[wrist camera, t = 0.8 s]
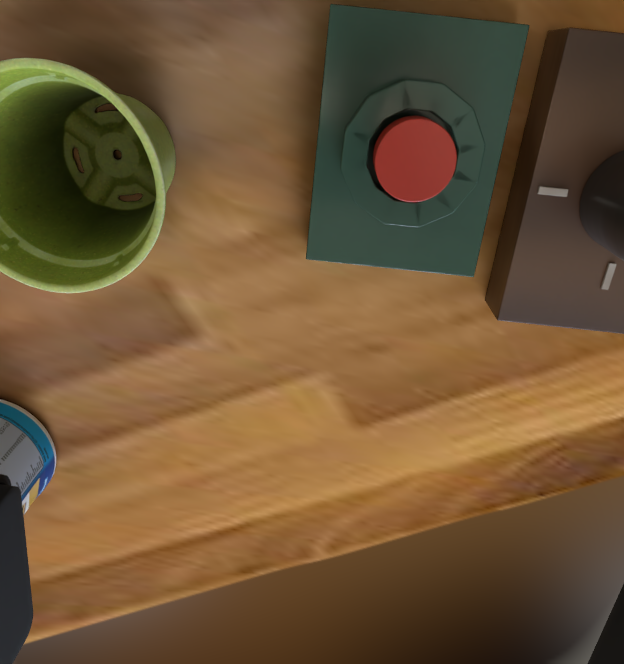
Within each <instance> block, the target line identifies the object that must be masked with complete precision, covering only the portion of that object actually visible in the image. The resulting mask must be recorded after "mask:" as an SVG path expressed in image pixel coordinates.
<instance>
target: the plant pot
mask: <svg viewBox="0 0 624 664" xmlns="http://www.w3.org/2000/svg"><path fill="white" fill-rule="evenodd" d="M110 103H112V104H113V105H114V106H115V107H116V108H117V109H118V111H103V112H98V113H95V112H94V111H95V110H96V108H97V107H99V106H101V105H103V104H110ZM74 147H76V148H77V149H78V151H79V156H80V160H81V164H82V167H83V169H84V173H83V174H82V173H81V172H79V171H78V169H77V166H76V163H75V161H74V159H73V154H72V149H73V148H74ZM114 150H119V151H120V152H121V154H122V157H121V159H120V160H116V159H115V158H114V157H113V152H114ZM175 165H176V157H175V149H174V145H173V141H172V139H171V136H170V134H169V132H168V130H167V128H166V126H165V124H164V123H163V121H162V120H161V119H160V118H159V117H158V116H157V115H156V114H155V113H154V112H153V111H152V110H151V109H150V108H148V107H147V106H146V105H144V104H143V103H141V102H140V101H138V100H136V99H134V98H132V97H129V96H126V95H123V94H118V93H115V92H114V91H113V90H111V89H110V88H109V87H108V86H107V85H105V84H104V83H102V82H101V81H99V80H98V79H96V78H95V77H93V76H91V75H90V74H88V73H86V72H84V71H82V70H80V69H77V68H75V67H73V66H70V65H67V64H64V63H60V62H56V61H52V60H46V59H37V58H16V59H8V60H4V61H0V271H1V272H2V273H4V274H5V275H7V276H9V277H11V278H13V279H15V280H17V281H19V282H21V283H24V284H26V285H28V286H31V287H35V288H38V289H42V290H46V291H51V292H60V293H78V292H86V291H92V290H96V289H100V288H103V287H105V286H108V285H111V284H113V283H115V282H117V281H118V280H120V279H122V278H123V277H125V276H126V275H128V274H129V273H130V272H132V271H133V270H134V269H135V268H136V267H137V266H138V265H139V264H140V263H141V262H142V261H143V260H144V259H145V258H146V256H147V255H148V253H149V252H150V251H151V249H152V247H153V246H154V244H155V242H156V240H157V238H158V236H159V233H160V230H161V227H162V224H163V220H164V215H165V207H166V192H167V191H168V189H169V187H170V184H171V182H172V179H173V177H174V172H175ZM137 193H141V194H142V195H143V196H142V198H141V199H140V200H138V201H131V202H124V201H121V200H120V199H118V197H119V196H120V195H134V194H137Z"/></svg>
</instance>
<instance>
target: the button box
mask: <svg viewBox="0 0 624 664" xmlns="http://www.w3.org/2000/svg"><path fill="white" fill-rule="evenodd" d="M528 30H529V25H525V24H516V23H507V22H497V21H488V20H478V19H469V18H459V17H450V16H441V15H431V14H422V13H412V12H403V11H393V10H384V9H375V8H365V7H356V6H346V5H337V4H331V5H330V13H329V24H328V34H327V45H326V55H325V66H324V76H323V86H322V97H321V107H320V118H319V128H318V138H317V149H316V159H315V170H314V180H313V190H312V201H311V211H310V222H309V232H308V242H307V253H306V259H309V260H318V261H328V262H337V263H346V264H356V265H365V266H374V267H384V268H393V269H403V270H412V271H421V272H431V273H440V274H449V275H459V276H468V277H474V273H475V269H476V264H477V260H478V255H479V251H480V246H481V242H482V237H483V233H484V228H485V224H486V219H487V215H488V210H489V206H490V201H491V197H492V192H493V188H494V183H495V179H496V174H497V170H498V165H499V161H500V156H501V152H502V147H503V143H504V138H505V134H506V129H507V125H508V120H509V116H510V111H511V106H512V102H513V97H514V93H515V88H516V84H517V79H518V75H519V70H520V66H521V61H522V57H523V52H524V48H525V43H526V39H527V34H528ZM406 116H422V117H426V118H429V119H431V120H433V121H434V122H436V123H438V124H439V125H441V126H442V127H443V128H444V129H445V130H446V131H447V132H448V133H449V134H450V136H451V138H452V139H453V142H454V144H455V148H456V154H457V161H456V168H455V171H454V174H453V176H452V178H451V180H450V182H449V183H448V185H447V186H446V187H445V188H444V189H443V190H442V191H441V192H440V193H439V194H437V195H436V196H434V197H432V198H430V199H428V200H425V201H420V202H406V201H402V200H399V199H397V198H395V197H393V196H391V195H390V194H389V193H388V192H386V191H385V189H384V188H383V187H382V185H381V184H380V182H379V180H378V178H377V175H376V172H375V169H374V164H373V151H374V147H375V144H376V141H377V139H378V137H379V135H380V134H381V132H382V131H383V130H384V129H385V128H386V127H387V126H388V125H389V124H391V123H392V122H393V121H395V120H397V119H399V118H402V117H406Z"/></svg>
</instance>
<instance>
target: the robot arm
mask: <svg viewBox="0 0 624 664" xmlns="http://www.w3.org/2000/svg"><path fill="white" fill-rule="evenodd" d="M32 619H33V605H32V596H31V586H30V576H29V566H28V557H27V547H26V537H25V527H24V518H23V508H22V498H21V492H20V489H19V487H17V486H12V485H11V481H10V479H9V477H8V476H7V475H3V474H0V664H12V663H13V662H14V660H15V658H16V656H17V655H18V653H19V651H20V649H21V647H22V646H23V644H24V642H25V640H26V638H27V636H28V634H29V631H30V628H31V624H32ZM588 664H624V585H623V587H622V589H621V591H620V594H619V596H618V598H617V600H616V602H615V604H614V607H613V609H612V611H611V613H610V615H609V618H608V620H607V622H606V625H605V627H604V629H603V631H602V633H601V636H600V638H599V640H598V642H597V644H596V646H595V649H594V651H593V653H592V656H591V658H590V660H589V662H588Z"/></svg>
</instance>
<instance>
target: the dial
mask: <svg viewBox="0 0 624 664" xmlns="http://www.w3.org/2000/svg"><path fill="white" fill-rule="evenodd" d="M580 217H581V222H582V224H583V227H584V229H585V231H586V232H587V234H588V235H589V236H590V237H591V238H592V239H593V240H594V241H595V242H597V243H598V244H600V245H601V246H603V247H604V248H605V249H607V250H608V251H610V252H611V253H613V254H614V255H616V256H617V257H619V258H620V259H621V260H623V261H624V150H623V151H621V152H619V153H616V154H614V155H613V156H611V157H610V158H608V159H607V160H605V161H604V162H603V163H602V164H601V165H600V166H599V167H598V168H597V169H596V170H595V171H594V172H593V173H592V175H591V176H590V178H589V179H588V181H587V183H586V185H585V187H584V189H583V192H582V195H581V200H580Z"/></svg>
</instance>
